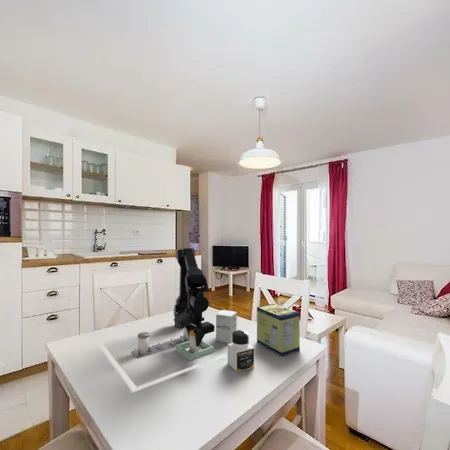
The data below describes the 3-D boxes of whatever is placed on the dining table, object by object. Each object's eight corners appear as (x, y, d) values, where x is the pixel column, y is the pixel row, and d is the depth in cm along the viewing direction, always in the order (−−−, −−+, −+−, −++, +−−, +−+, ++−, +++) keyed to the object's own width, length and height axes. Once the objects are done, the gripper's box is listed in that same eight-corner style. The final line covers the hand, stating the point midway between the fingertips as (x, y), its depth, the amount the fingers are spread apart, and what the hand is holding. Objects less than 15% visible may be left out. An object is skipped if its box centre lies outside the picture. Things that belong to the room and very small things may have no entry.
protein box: (273, 337, 118) (273, 303, 119) (300, 350, 105) (300, 312, 106) (256, 342, 113) (256, 306, 113) (281, 357, 100) (281, 316, 100)
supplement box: (215, 343, 111) (215, 314, 112) (221, 337, 118) (222, 309, 119) (231, 346, 109) (231, 316, 109) (237, 339, 115) (237, 311, 116)
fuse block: (190, 337, 118) (190, 319, 118) (199, 342, 112) (199, 323, 112) (130, 354, 101) (131, 333, 101) (137, 362, 95) (137, 339, 95)
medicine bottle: (236, 372, 88) (237, 337, 89) (227, 363, 95) (227, 330, 95) (254, 367, 92) (254, 333, 92) (243, 359, 98) (243, 327, 98)
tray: (198, 345, 110) (198, 337, 110) (214, 354, 101) (214, 346, 101) (175, 352, 103) (175, 344, 103) (190, 363, 94) (190, 355, 94)
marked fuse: (196, 346, 105) (196, 329, 105) (201, 350, 102) (202, 332, 102) (187, 349, 102) (187, 331, 102) (192, 353, 99) (193, 334, 99)
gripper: (165, 303, 105) (165, 342, 104) (190, 314, 90) (189, 360, 90) (189, 298, 112) (189, 335, 111) (215, 309, 97) (215, 350, 97)
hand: (194, 344), depth 102 cm, fingers closed on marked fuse, 4 cm apart
